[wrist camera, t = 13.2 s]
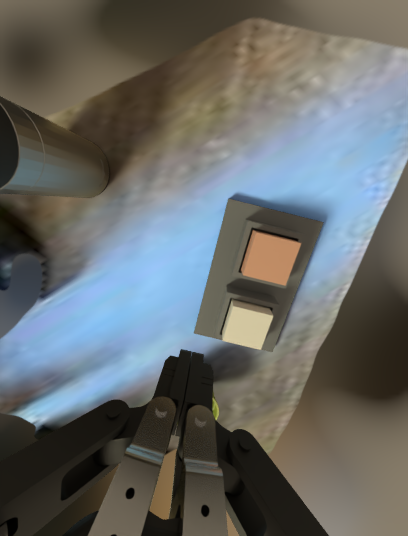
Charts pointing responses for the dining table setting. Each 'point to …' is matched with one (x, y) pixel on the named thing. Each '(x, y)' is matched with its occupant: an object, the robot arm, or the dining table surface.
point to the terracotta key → (269, 257)
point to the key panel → (247, 288)
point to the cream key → (246, 324)
